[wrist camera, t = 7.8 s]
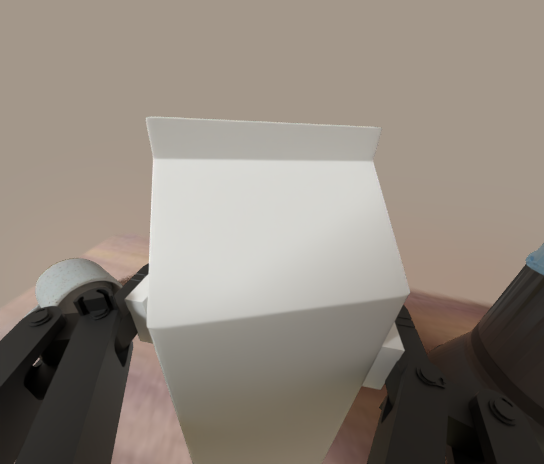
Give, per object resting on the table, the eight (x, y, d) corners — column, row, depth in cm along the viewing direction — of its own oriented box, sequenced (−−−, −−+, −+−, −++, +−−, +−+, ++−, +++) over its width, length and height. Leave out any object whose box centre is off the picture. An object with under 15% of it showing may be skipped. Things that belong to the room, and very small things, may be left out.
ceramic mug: (106, 283, 36) (89, 242, 32) (133, 311, 32) (118, 268, 28) (10, 330, 28) (-27, 284, 24) (31, 374, 25) (-10, 328, 21)
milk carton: (321, 466, 14) (486, 152, 5) (203, 500, 13) (82, 143, 3) (290, 356, 20) (334, 116, 11) (206, 371, 19) (167, 107, 9)
